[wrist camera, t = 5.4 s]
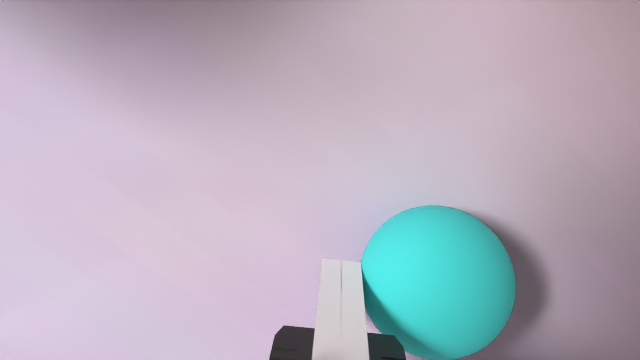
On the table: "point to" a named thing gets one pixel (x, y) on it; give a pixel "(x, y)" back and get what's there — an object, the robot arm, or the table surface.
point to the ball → (438, 282)
